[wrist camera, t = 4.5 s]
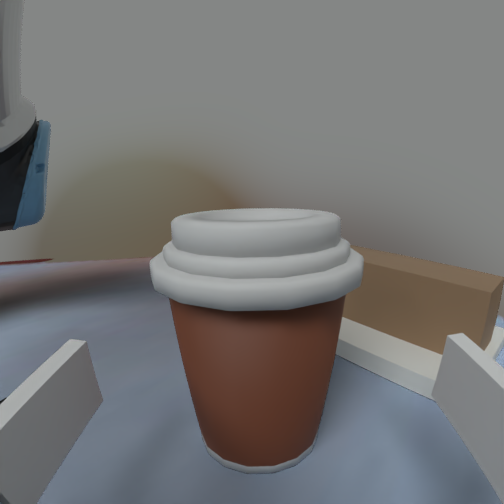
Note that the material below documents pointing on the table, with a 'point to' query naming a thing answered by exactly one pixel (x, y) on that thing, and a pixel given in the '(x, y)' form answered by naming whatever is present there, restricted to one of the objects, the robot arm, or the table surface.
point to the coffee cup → (257, 325)
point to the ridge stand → (416, 316)
